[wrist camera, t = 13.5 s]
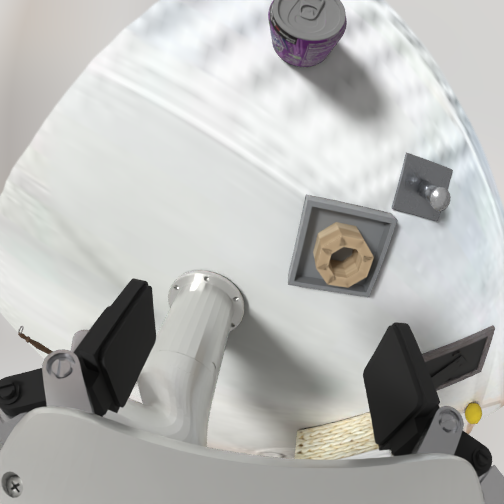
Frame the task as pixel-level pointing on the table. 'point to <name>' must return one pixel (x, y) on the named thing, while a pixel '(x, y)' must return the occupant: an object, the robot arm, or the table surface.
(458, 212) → the table surface
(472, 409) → the lemon
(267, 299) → the table surface
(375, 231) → the charcoal tray
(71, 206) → the table surface
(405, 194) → the grey knobbed square plate
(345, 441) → the storage basket
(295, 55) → the beverage can
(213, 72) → the table surface
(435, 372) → the picture frame
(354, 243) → the maple ring
